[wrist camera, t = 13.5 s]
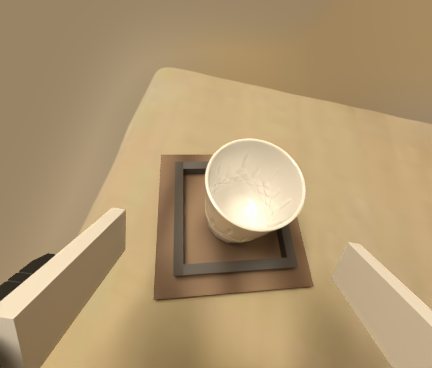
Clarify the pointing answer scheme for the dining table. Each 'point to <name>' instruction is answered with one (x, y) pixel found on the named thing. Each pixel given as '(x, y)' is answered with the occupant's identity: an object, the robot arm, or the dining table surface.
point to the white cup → (251, 190)
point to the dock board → (215, 243)
